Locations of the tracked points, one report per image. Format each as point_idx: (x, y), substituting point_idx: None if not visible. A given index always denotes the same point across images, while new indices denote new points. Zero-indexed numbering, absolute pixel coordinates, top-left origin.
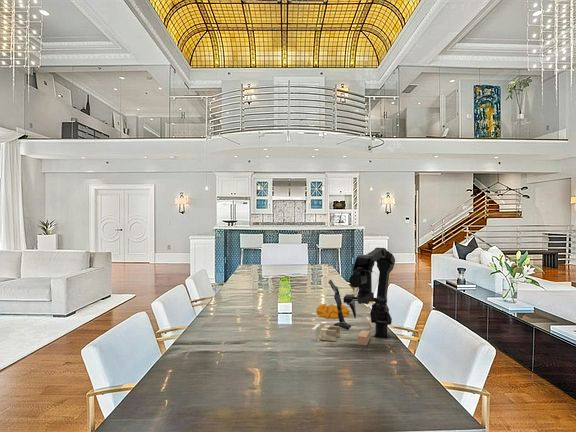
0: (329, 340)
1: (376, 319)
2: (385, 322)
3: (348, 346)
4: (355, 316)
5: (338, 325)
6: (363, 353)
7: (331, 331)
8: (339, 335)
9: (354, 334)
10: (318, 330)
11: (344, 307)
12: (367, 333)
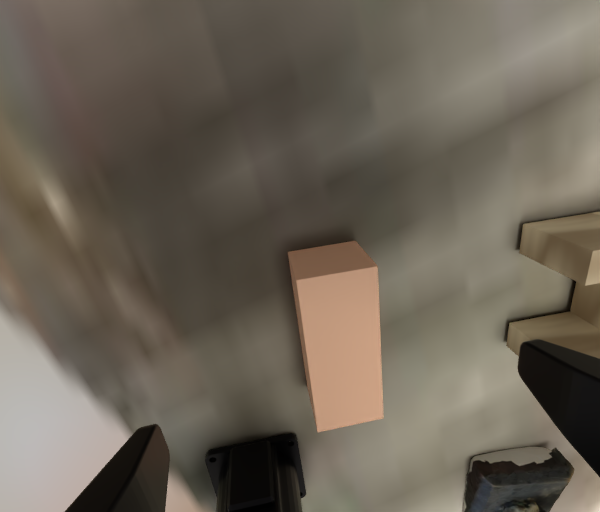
0: (567, 217)
1: (140, 428)
2: None
3: (412, 161)
4: (548, 356)
5: (542, 470)
6: (247, 20)
7: None
8: (510, 341)
9: (420, 418)
10: None
11: None
12: (318, 372)
